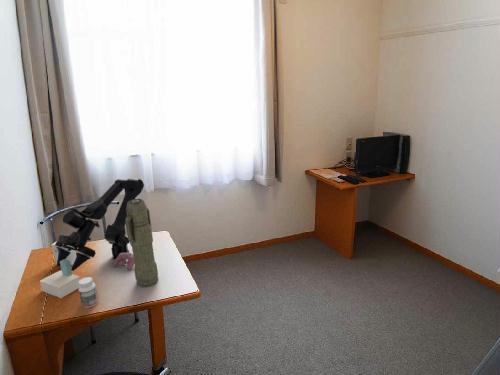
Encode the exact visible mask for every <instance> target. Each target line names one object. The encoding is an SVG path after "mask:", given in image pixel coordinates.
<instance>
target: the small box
mask: <svg viewBox="0 0 500 375" xmlns="http://www.w3.org/2000/svg"><path fill="white" fill-rule="evenodd" d="M57 241H58V240H56V241H55V242H54V243H52V244H51V250H52V253H53V257H54V260H55V264H56V266H57V260H58V253H59V252H58V249H57V248H56V247H58V246H55V244H56V242H57ZM69 252H71V253H70V254H69V256H68V257H67V258H66V259H65V260H68V261H70V265H71V266H73V264H74V261H75V259H76V252H78V251H75V250H71V251H69Z"/></svg>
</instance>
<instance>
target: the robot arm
mask: <svg viewBox="0 0 500 375" xmlns="http://www.w3.org/2000/svg"><path fill="white" fill-rule="evenodd" d="M144 187H145V184H144V182H143V180H142V179H140V178H132V177H131V178H128V179H127V178H126V179H120V178H119V179H116V180H115V181H114V182H113V184H112V185H111V186H110V187H109V188H108V189H107V190H106V191H105V192H104V193H103V194H102V195H101V196H100V198H98V199H97V200H94V201H93V202H91V203H89V205H87V206H86V207H85V208H84V209H83V210H81V211H79V210H78V209H77V208H71V210H70V211H67V212H66V213H65V214H64V215H63V217H62V223H63V224H66V225H67V226H69V227H71V228H74V230H75V229H76V231H72V233H70V234H69V233H68V234H67V233H65V234H64V233H60V234H59V236H58V240H56V241H57V242H56V241H55V242H56V244H55V246H58V247H56V248H57V249H58V252H59V253H58V260H57V265H56V267H61V266H60V261H62V260H64V259H66V258H67V257H68V256H69V254H70V253H71V252H69V251H71V250H75V251H77V252H76V259H75V261H74V264H73V265H71V266H72V267H71V270H72V272H74V271H76V270H77V269H78V268H79V267H80V266H82V265H83V264H84V263H85V262H87V261H88V260H90V259H92V258H94V257H95V255H96V249H95V250H94V249H92V248H90V247H89V246H86V244H87V242H88V241H91V239H92V238H91V235H92V233H93V231H94V229H95V228H100V227H101V226H100V223H99V220H100V221H101V219H103V218H104V216H105V215H106V213H107V212H108V207H109V206H110V205H111V203H112V202H113V201H114V200H115V199H117V197H118V196H119V195H120V193H122V191H124V196H123V198H122V201H121V204H120V206H119V209H118V212H117V214H116V216H115V219H114V222H113V223H111V224H108V225H107V227H106V229H105V231H104V238H105V241H107V242H108V244H110V245H111V248H110V249H111V255H112V256H113V257H112V258H113V260H116V258H117V256H118V255H119V254H120V253H130V249H129V248H128V244H130V241H128V236H126V234H127V230H126V223H125V220H126V217H127V211H126V208H127V202H129V201H130V200H133V199H137V197H138V196H139V195H140V194H141V193H142V191H143V189H144Z"/></svg>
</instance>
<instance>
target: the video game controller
mask: <svg viewBox="0 0 500 375" xmlns="http://www.w3.org/2000/svg"><path fill="white" fill-rule="evenodd" d="M120 263H121V266H122V265H123V266H125V265H126V266H127V269H128V271H130V270H132V269H134V267H135V263H134V257H133V253H131V252H129V253H120V254H119V255H118V256H117V258H116V259H114V262H113V267H114V268H116V267H118V266H119V265H120Z"/></svg>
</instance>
